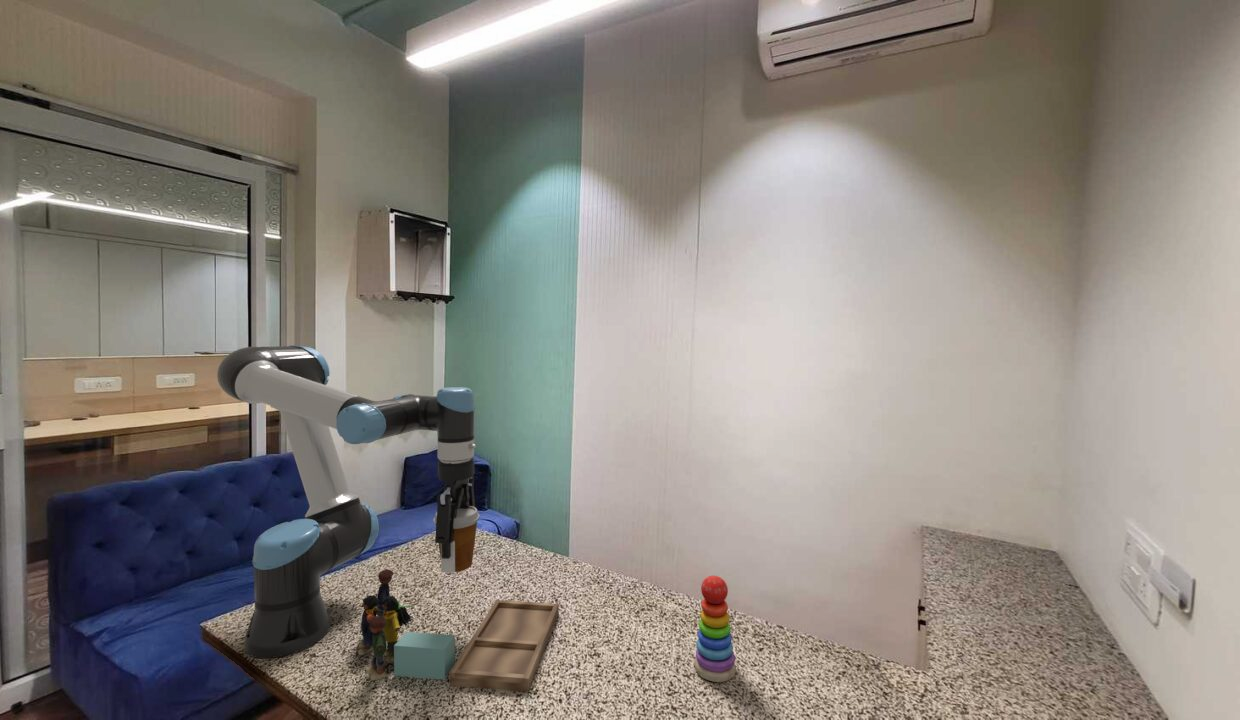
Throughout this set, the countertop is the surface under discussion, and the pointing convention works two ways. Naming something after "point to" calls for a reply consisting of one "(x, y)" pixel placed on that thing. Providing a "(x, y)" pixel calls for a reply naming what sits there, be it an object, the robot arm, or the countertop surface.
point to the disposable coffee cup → (463, 537)
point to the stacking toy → (714, 634)
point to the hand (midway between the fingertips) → (457, 562)
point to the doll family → (381, 625)
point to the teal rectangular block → (424, 655)
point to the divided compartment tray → (506, 647)
